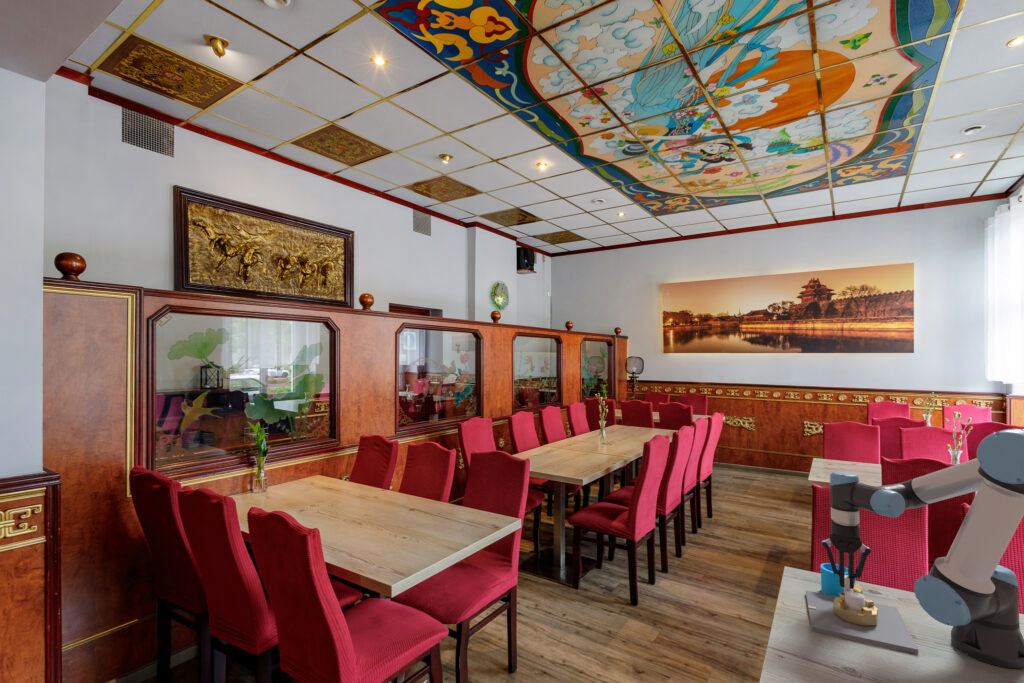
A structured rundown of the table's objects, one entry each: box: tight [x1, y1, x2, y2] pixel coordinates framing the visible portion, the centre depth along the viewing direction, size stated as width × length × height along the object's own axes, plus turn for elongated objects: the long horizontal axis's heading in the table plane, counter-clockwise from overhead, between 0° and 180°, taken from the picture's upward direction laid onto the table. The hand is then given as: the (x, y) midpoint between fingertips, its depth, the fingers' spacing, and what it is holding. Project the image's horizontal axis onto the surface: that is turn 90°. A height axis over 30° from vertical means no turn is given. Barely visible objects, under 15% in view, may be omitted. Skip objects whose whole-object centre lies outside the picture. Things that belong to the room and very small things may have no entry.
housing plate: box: [805, 590, 919, 655], centre depth 143 cm, size 24×24×8 cm
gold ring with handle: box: [833, 584, 878, 626], centre depth 145 cm, size 15×10×6 cm
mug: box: [820, 562, 857, 597], centre depth 160 cm, size 12×8×8 cm
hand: (846, 597), depth 151 cm, fingers closed
